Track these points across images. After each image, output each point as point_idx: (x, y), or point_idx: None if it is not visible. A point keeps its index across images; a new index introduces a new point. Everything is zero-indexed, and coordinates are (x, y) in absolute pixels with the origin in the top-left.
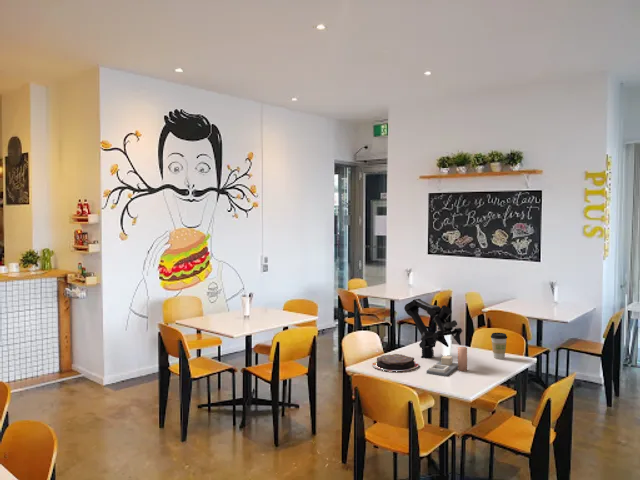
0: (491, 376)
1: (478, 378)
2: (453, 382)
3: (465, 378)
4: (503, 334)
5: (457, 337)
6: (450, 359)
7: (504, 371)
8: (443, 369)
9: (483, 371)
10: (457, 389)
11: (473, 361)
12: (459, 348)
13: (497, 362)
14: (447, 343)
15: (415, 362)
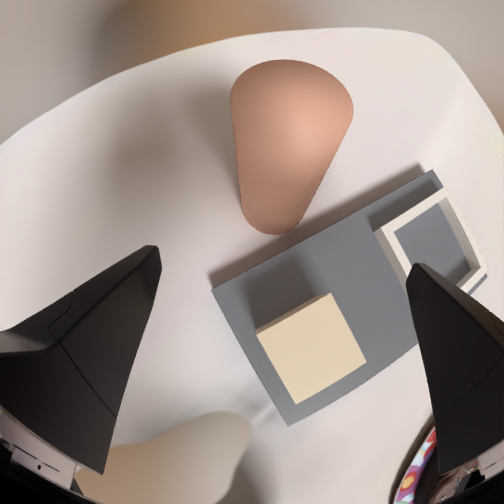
0: (226, 64)
1: None
2: (432, 109)
3: (360, 103)
4: None
5: (83, 352)
6: (305, 306)
7: (114, 92)
8: (444, 195)
9: (187, 125)
10: (443, 71)
11: None
12: (344, 101)
13: (15, 217)
14: (438, 285)
15: (416, 466)
